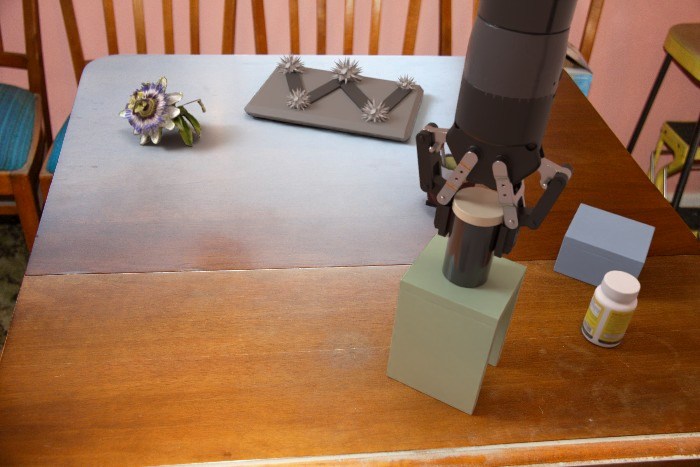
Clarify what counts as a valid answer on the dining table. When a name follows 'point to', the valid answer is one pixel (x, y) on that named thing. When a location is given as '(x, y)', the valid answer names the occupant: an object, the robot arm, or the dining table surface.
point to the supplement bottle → (611, 309)
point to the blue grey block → (602, 245)
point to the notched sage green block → (451, 327)
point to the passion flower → (159, 113)
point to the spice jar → (472, 237)
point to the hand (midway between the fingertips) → (472, 241)
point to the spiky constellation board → (338, 100)
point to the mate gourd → (446, 176)
